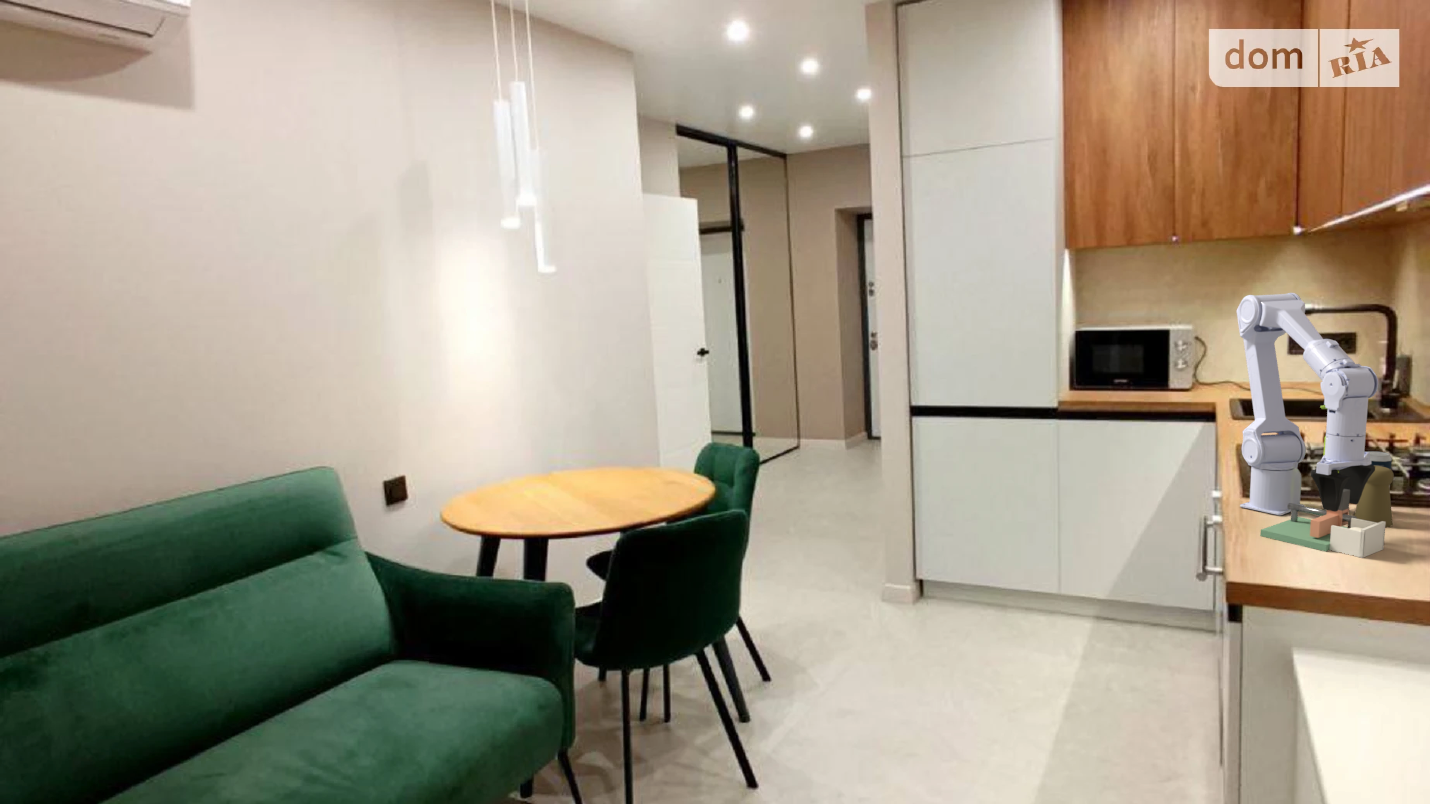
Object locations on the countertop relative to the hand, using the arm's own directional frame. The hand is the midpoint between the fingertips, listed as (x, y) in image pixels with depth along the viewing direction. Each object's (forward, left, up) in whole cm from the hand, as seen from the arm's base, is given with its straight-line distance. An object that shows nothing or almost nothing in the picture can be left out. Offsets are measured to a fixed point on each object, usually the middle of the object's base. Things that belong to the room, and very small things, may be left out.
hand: (1340, 506), depth 152 cm
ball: (+5, +5, -4) cm, 8 cm away
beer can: (-21, -4, -6) cm, 22 cm away
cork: (-14, -1, -6) cm, 15 cm away
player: (+3, 0, -4) cm, 5 cm away
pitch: (+3, -3, -6) cm, 7 cm away
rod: (0, -3, -5) cm, 6 cm away
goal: (+5, +5, -6) cm, 9 cm away
